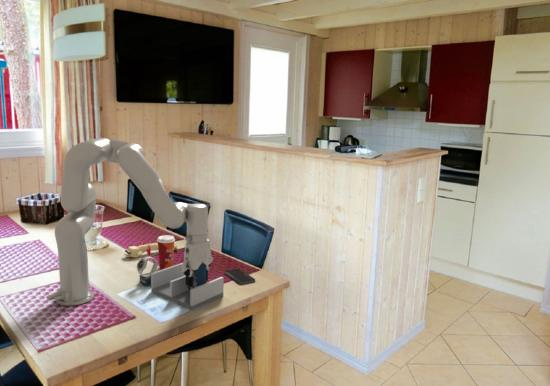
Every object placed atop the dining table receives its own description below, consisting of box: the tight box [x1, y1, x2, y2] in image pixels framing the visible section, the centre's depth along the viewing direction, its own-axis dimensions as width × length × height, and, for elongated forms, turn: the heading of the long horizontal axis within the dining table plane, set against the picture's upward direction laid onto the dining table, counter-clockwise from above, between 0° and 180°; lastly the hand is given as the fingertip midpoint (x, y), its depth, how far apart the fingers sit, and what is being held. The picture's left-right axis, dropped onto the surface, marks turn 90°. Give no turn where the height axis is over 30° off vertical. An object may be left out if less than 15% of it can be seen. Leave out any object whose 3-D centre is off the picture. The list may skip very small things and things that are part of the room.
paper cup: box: [156, 234, 176, 270], centre depth 193 cm, size 8×8×14 cm
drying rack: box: [150, 262, 225, 311], centre depth 168 cm, size 16×23×8 cm
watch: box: [136, 255, 158, 288], centre depth 176 cm, size 6×8×11 cm
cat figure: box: [123, 234, 178, 258], centre depth 210 cm, size 10×9×25 cm
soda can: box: [188, 262, 207, 291], centre depth 164 cm, size 7×7×12 cm
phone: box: [224, 268, 256, 286], centre depth 187 cm, size 8×1×15 cm
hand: (196, 282), depth 164 cm, fingers closed on soda can, 6 cm apart
